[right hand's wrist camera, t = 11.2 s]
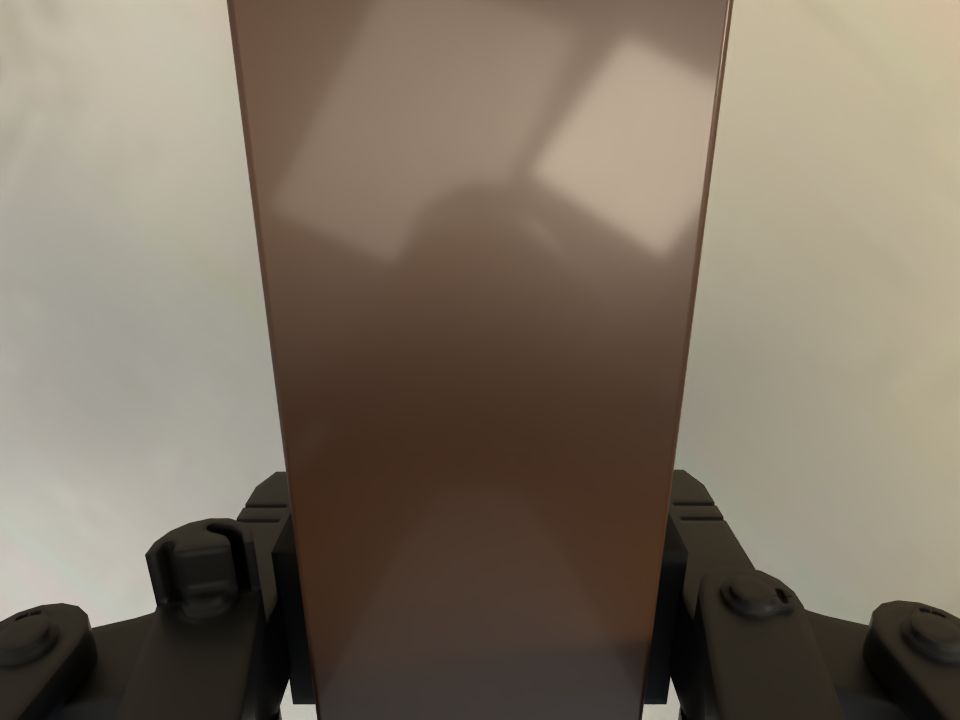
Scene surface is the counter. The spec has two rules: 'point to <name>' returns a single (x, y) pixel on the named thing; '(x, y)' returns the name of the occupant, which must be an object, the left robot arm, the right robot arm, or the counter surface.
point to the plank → (479, 333)
